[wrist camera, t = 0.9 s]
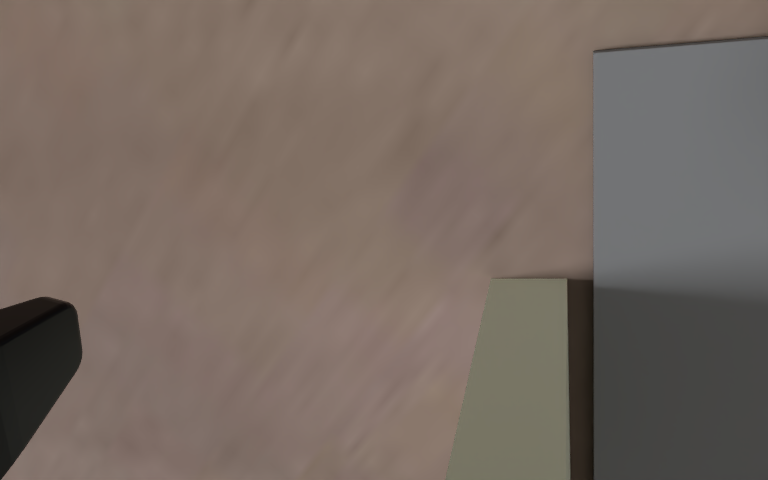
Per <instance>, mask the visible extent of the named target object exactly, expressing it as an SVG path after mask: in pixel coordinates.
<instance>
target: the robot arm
mask: <svg viewBox="0 0 768 480" xmlns="http://www.w3.org/2000/svg"><path fill="white" fill-rule="evenodd" d="M81 359H82V344H81V337H80V330H79V323H78V315H77V311H76V309H75V307H74V306H73V305H72V304H70V303H69V302H65V301H62V300H58V299H54V298H50V297H39V298H36V299H32V300H29V301H26V302H23V303H19V304H16V305H13V306H10V307H6V308H3V309H0V480H1V479H2V478H3V476H4V475H5V474H6V473H7V471H8V470H9V469H10V467H11V466H12V465H13V464H14V462H15V461H16V459H17V458H18V457H19V455H20V454H21V452H22V451H23V450H24V448H25V447H26V445H27V444H28V442H29V441H30V439H31V438H32V436H33V435H34V434H35V432H36V431H37V429H38V428H39V426H40V425H41V423H42V422H43V420H44V419H45V417H46V416H47V414H48V413H49V411H50V410H51V408H52V407H53V405H54V404H55V402H56V401H57V399H58V398H59V396H60V395H61V394H62V392H63V391H64V389H65V388H66V386H67V385H68V383H69V382H70V380H71V379H72V377H73V376H74V374H75V373H76V371H77V369H78V367H79V365H80V363H81Z"/></svg>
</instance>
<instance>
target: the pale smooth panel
mask: <svg viewBox="0 0 768 480" xmlns="http://www.w3.org/2000/svg"><path fill="white" fill-rule="evenodd" d="M445 480H571V478H570V420H569V361H568V303H567V279H491V281H490V285H489V289H488V294H487V298H486V303H485V307H484V311H483V316H482V320H481V325H480V329H479V333H478V338H477V342H476V347H475V351H474V356H473V360H472V364H471V369H470V373H469V378H468V382H467V386H466V391H465V395H464V400H463V404H462V408H461V413H460V417H459V422H458V426H457V430H456V435H455V439H454V444H453V448H452V452H451V457H450V461H449V466H448V470H447V474H446V479H445Z"/></svg>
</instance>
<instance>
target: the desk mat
mask: <svg viewBox="0 0 768 480" xmlns="http://www.w3.org/2000/svg"><path fill="white" fill-rule="evenodd" d="M593 257H594V480H768V37H755V38H743V39H731V40H719V41H707V42H695V43H683V44H671V45H659V46H647V47H635V48H623V49H610V50H598V51H593Z"/></svg>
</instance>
